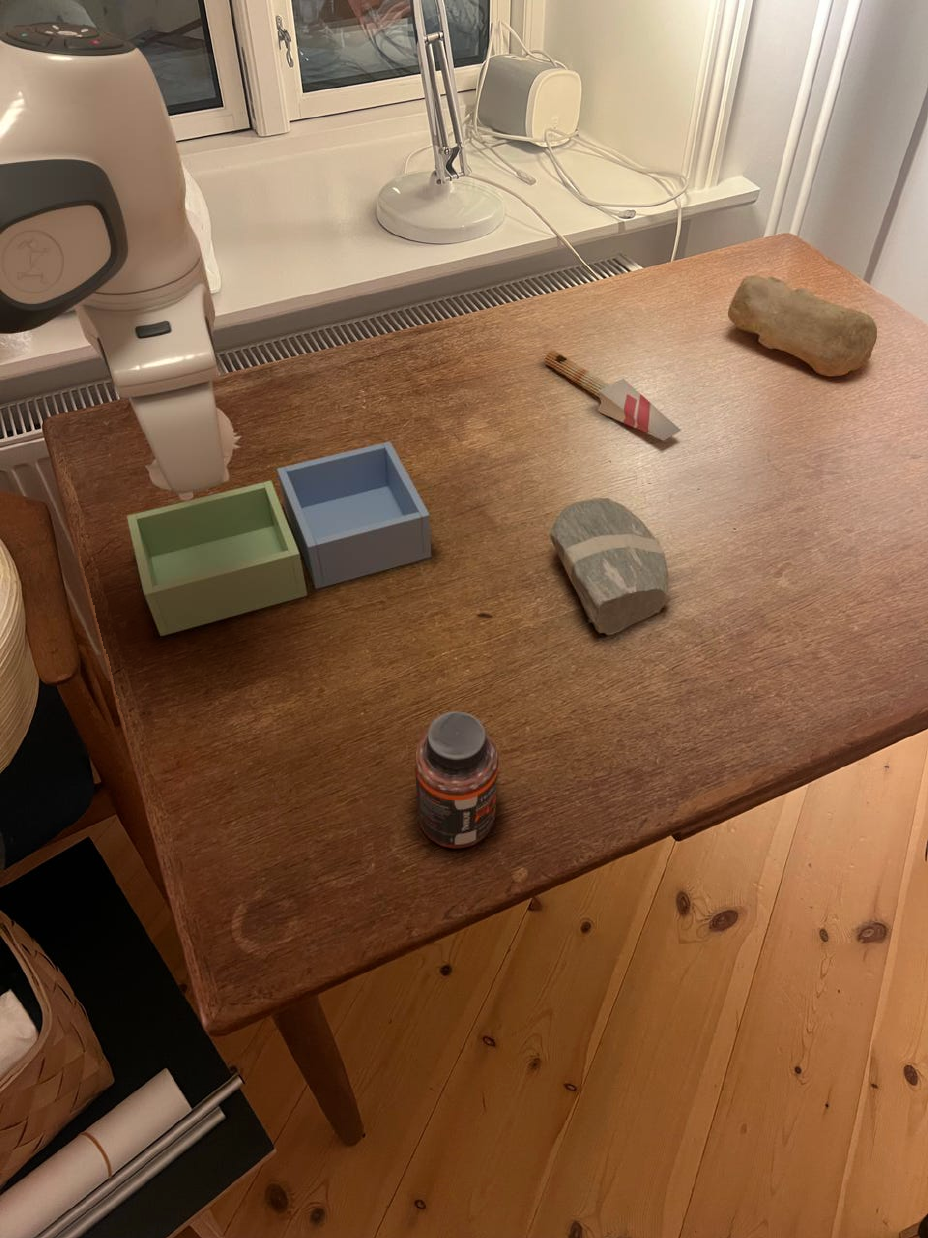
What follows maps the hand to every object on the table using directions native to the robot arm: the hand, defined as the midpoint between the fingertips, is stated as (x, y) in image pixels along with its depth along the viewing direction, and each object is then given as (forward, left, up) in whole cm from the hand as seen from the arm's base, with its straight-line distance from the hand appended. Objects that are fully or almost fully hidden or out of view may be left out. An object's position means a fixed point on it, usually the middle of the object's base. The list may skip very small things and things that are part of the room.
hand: (190, 461), depth 72 cm
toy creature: (0, 0, -2) cm, 2 cm away
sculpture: (+72, +16, -17) cm, 76 cm away
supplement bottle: (+11, -28, -17) cm, 35 cm away
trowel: (+46, +15, -17) cm, 52 cm away
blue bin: (+13, +5, -17) cm, 22 cm away
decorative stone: (+33, -10, -17) cm, 39 cm away
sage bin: (0, +4, -17) cm, 17 cm away
